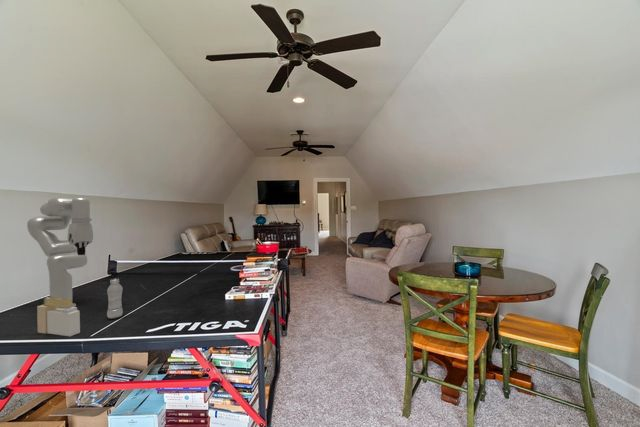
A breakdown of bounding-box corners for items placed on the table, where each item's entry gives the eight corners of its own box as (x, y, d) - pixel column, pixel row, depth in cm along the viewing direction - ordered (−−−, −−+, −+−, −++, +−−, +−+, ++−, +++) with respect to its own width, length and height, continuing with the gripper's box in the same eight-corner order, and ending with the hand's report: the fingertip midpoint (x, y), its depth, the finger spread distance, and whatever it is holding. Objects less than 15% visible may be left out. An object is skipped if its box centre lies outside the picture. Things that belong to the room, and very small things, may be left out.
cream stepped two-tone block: (37, 332, 127) (37, 306, 127) (50, 328, 132) (50, 302, 132) (68, 336, 122) (68, 309, 122) (81, 332, 126) (80, 305, 126)
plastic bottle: (112, 315, 147) (111, 278, 147) (125, 315, 147) (125, 277, 147) (103, 320, 140) (103, 280, 140) (118, 319, 141) (117, 280, 141)
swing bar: (42, 304, 128) (42, 298, 128) (49, 303, 130) (49, 296, 130) (65, 307, 123) (65, 300, 123) (72, 305, 126) (72, 298, 126)
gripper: (90, 220, 158) (90, 252, 158) (59, 221, 144) (60, 256, 144) (100, 220, 156) (100, 253, 156) (70, 221, 142) (70, 257, 142)
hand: (81, 254), depth 150 cm, fingers closed
